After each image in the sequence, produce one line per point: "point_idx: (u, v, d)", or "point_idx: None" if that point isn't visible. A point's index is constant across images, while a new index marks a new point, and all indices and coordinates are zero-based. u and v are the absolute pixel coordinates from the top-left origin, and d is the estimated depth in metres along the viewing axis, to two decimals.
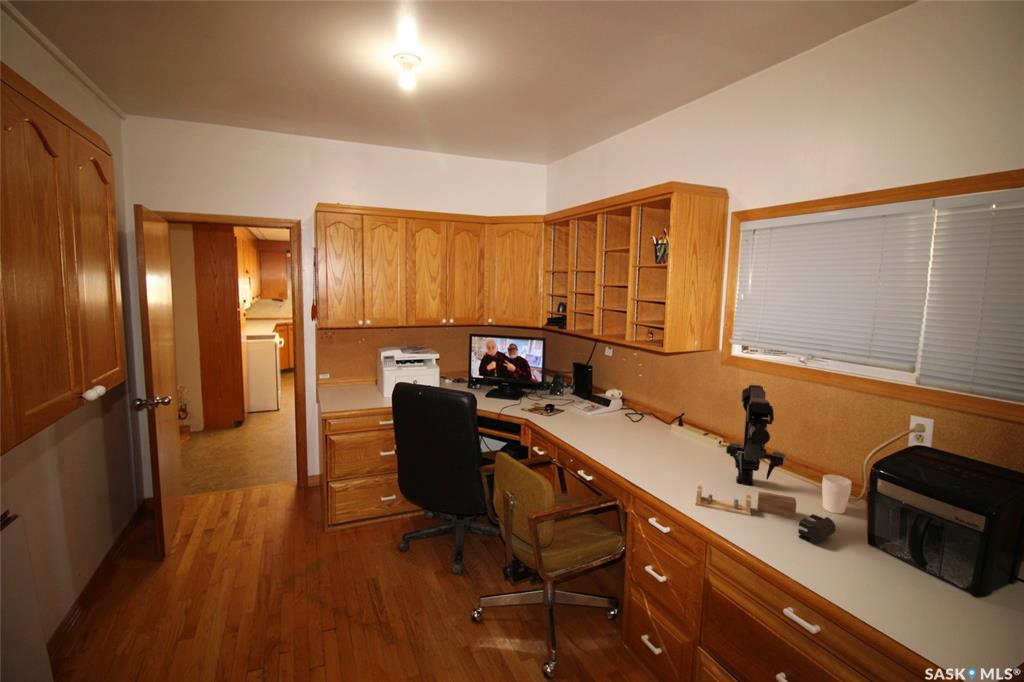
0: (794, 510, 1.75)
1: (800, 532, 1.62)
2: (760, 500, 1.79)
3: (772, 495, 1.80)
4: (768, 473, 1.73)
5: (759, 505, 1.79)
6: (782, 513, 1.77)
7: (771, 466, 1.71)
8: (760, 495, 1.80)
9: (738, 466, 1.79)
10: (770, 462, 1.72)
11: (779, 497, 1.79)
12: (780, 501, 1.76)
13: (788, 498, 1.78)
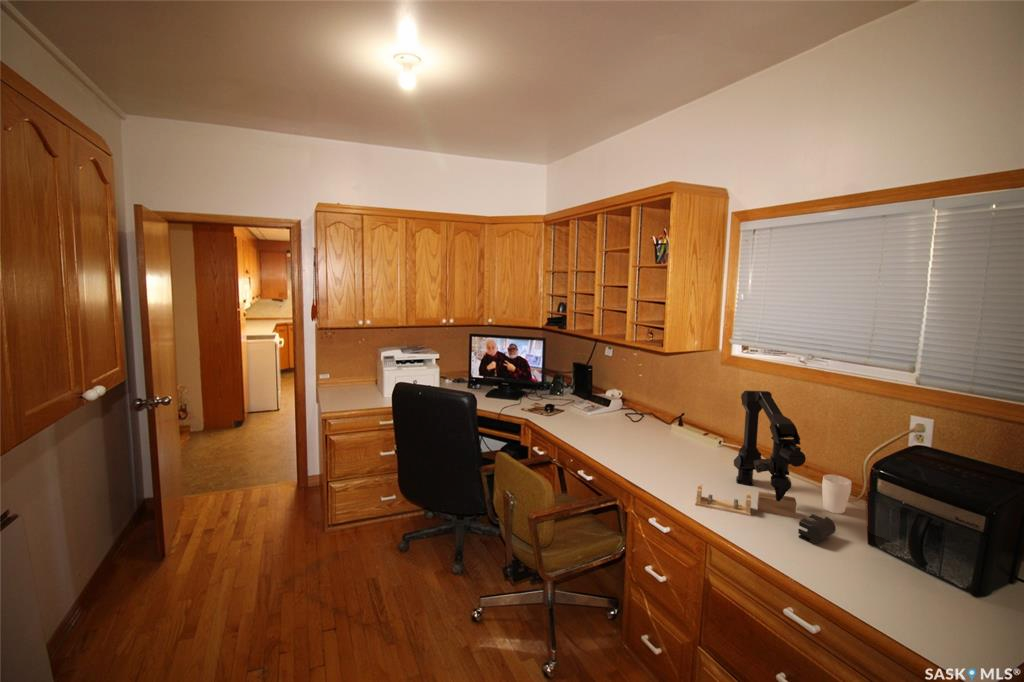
0: (794, 510, 1.75)
1: (800, 532, 1.62)
2: (760, 500, 1.79)
3: (772, 495, 1.80)
4: (775, 493, 1.74)
5: (759, 505, 1.79)
6: (782, 514, 1.77)
7: None
8: (760, 495, 1.80)
9: None
10: None
11: None
12: (780, 501, 1.76)
13: (788, 498, 1.78)
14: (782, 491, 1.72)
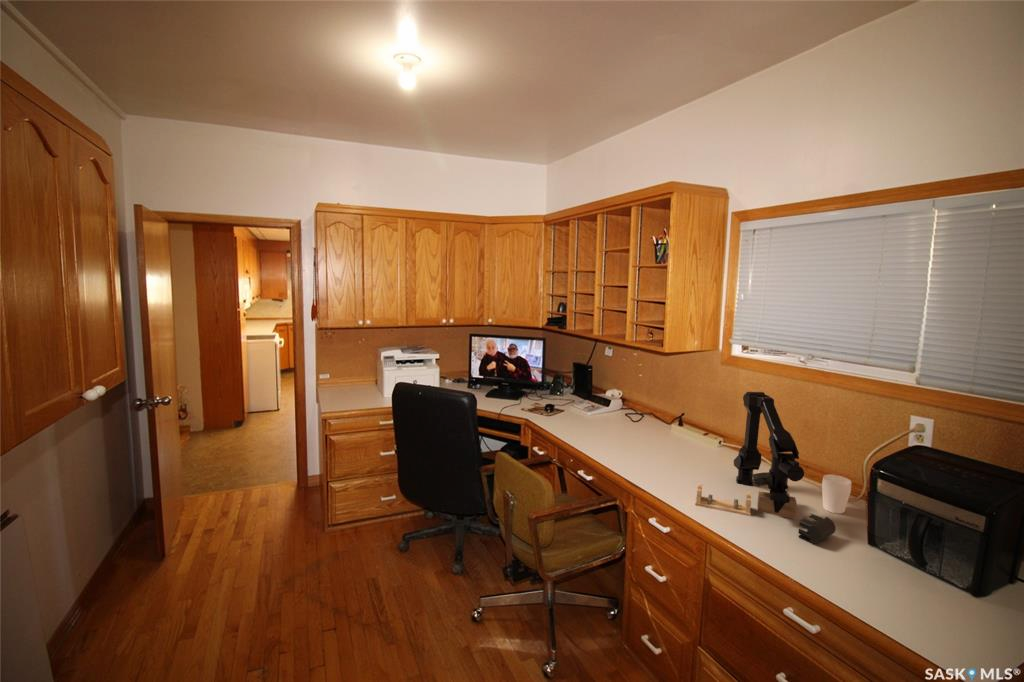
0: (794, 510, 1.75)
1: (800, 532, 1.62)
2: (760, 500, 1.79)
3: None
4: None
5: (759, 505, 1.79)
6: (782, 513, 1.77)
7: None
8: (760, 495, 1.80)
9: None
10: None
11: None
12: None
13: None
14: (780, 503, 1.75)
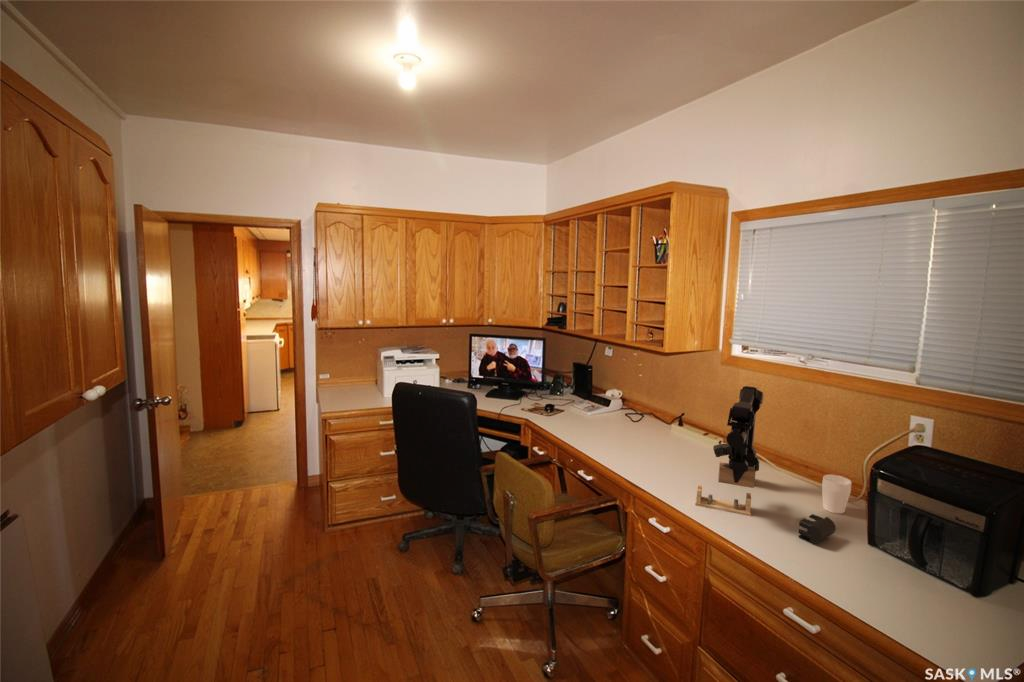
0: (753, 479, 1.76)
1: (800, 532, 1.62)
2: (720, 470, 1.80)
3: None
4: None
5: (720, 475, 1.80)
6: (742, 483, 1.78)
7: None
8: (721, 465, 1.81)
9: None
10: None
11: None
12: None
13: (748, 468, 1.79)
14: (739, 473, 1.76)
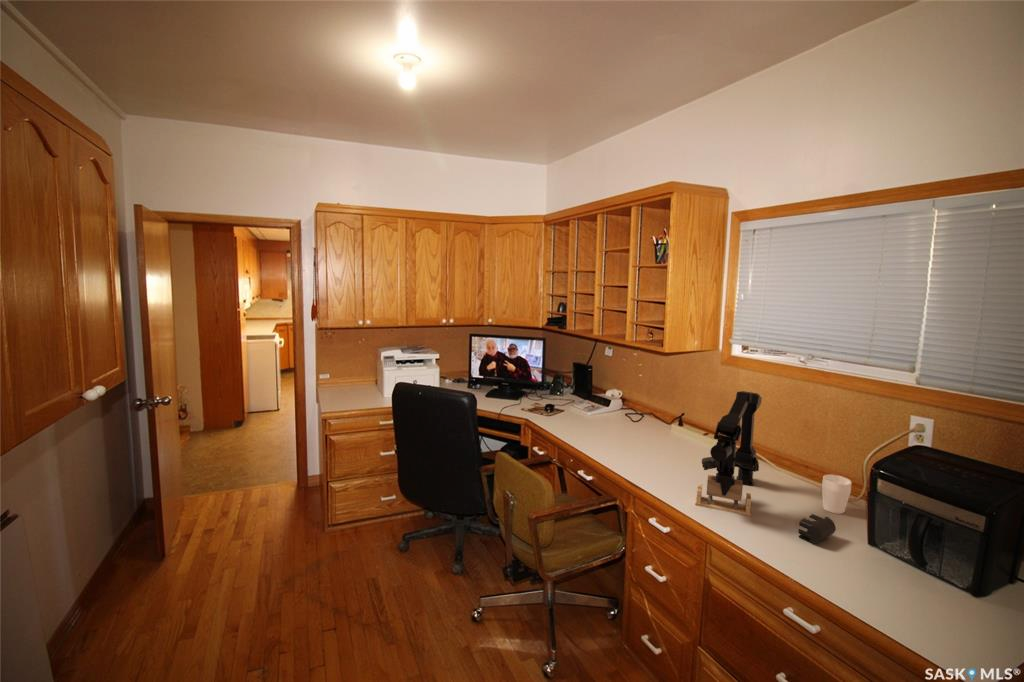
0: (740, 492, 1.78)
1: (800, 532, 1.62)
2: (708, 483, 1.82)
3: None
4: (721, 488, 1.80)
5: (707, 488, 1.83)
6: (729, 496, 1.80)
7: None
8: (709, 478, 1.83)
9: None
10: None
11: None
12: None
13: (736, 481, 1.81)
14: (727, 486, 1.78)
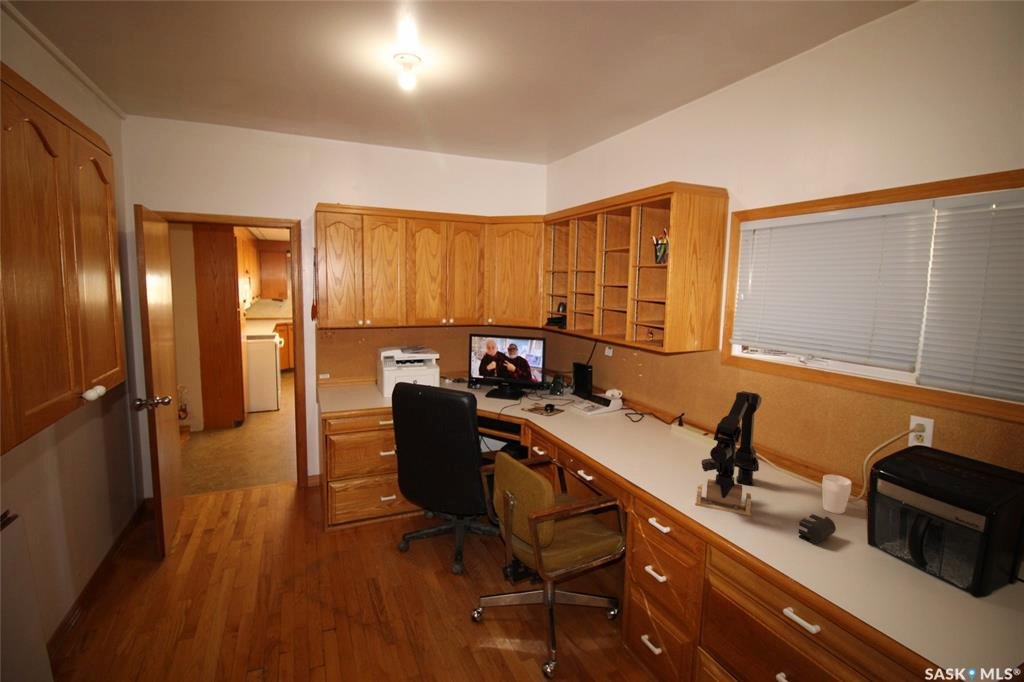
0: (740, 497, 1.78)
1: (800, 532, 1.62)
2: (708, 487, 1.82)
3: None
4: None
5: (707, 492, 1.83)
6: (729, 500, 1.80)
7: None
8: (708, 482, 1.83)
9: None
10: None
11: None
12: None
13: (735, 485, 1.81)
14: (727, 488, 1.77)
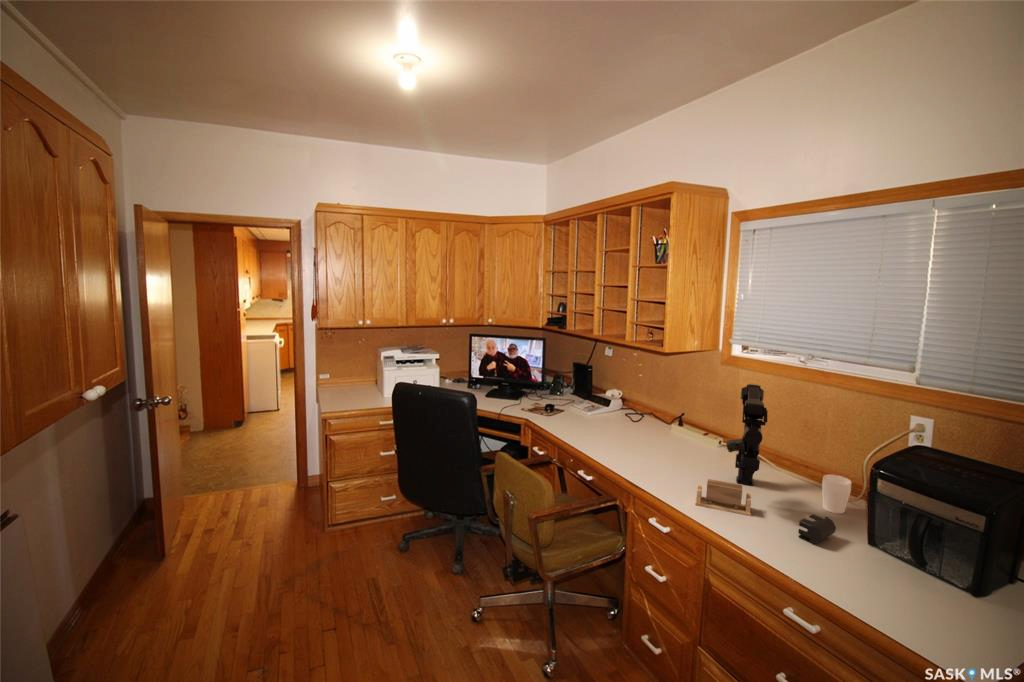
0: (740, 497, 1.78)
1: (800, 532, 1.62)
2: (708, 487, 1.82)
3: (720, 482, 1.83)
4: (745, 472, 1.80)
5: (707, 492, 1.83)
6: (729, 500, 1.80)
7: None
8: (708, 482, 1.83)
9: None
10: None
11: (726, 484, 1.82)
12: (727, 488, 1.80)
13: (735, 485, 1.81)
14: (752, 469, 1.78)
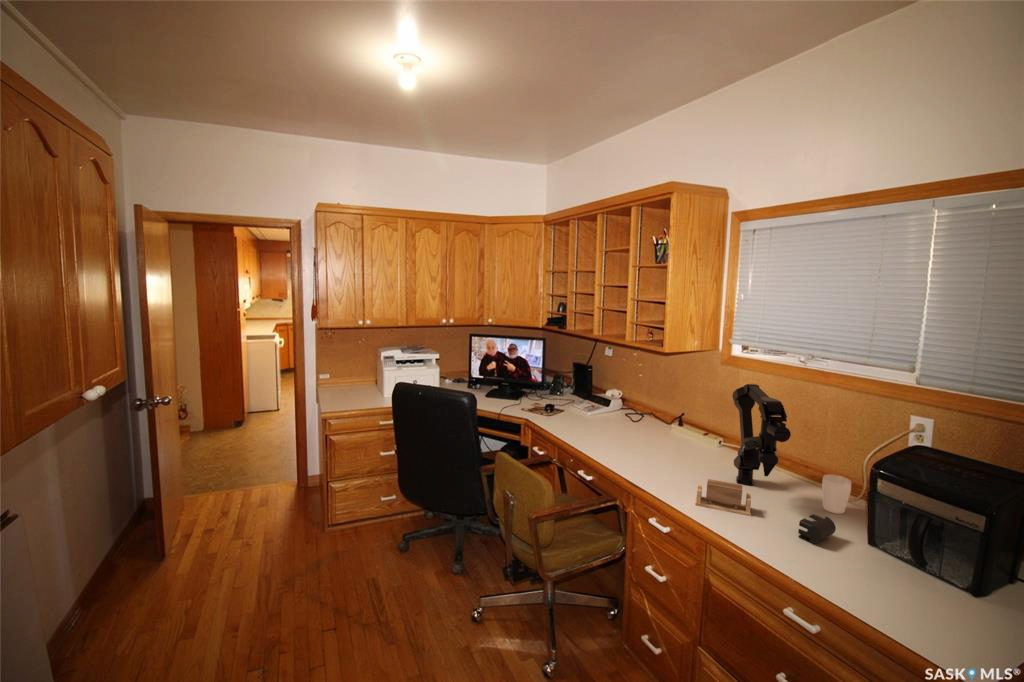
0: (740, 497, 1.78)
1: (800, 532, 1.62)
2: (708, 487, 1.82)
3: (720, 482, 1.83)
4: None
5: (707, 492, 1.83)
6: (729, 500, 1.80)
7: None
8: (708, 482, 1.83)
9: None
10: None
11: (726, 484, 1.82)
12: (727, 488, 1.80)
13: (735, 485, 1.81)
14: (770, 466, 1.80)
